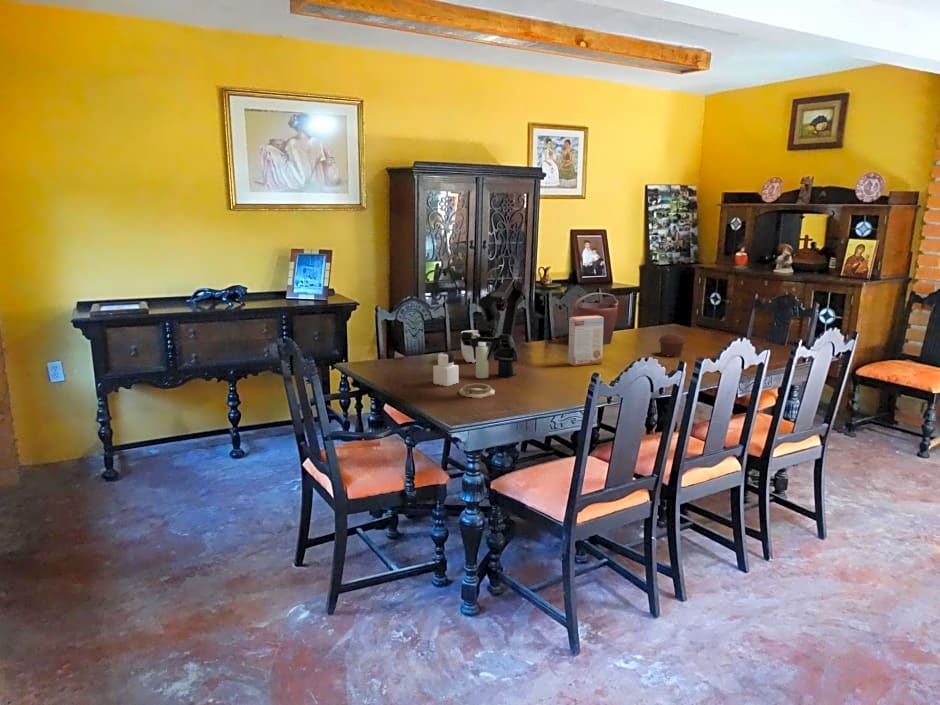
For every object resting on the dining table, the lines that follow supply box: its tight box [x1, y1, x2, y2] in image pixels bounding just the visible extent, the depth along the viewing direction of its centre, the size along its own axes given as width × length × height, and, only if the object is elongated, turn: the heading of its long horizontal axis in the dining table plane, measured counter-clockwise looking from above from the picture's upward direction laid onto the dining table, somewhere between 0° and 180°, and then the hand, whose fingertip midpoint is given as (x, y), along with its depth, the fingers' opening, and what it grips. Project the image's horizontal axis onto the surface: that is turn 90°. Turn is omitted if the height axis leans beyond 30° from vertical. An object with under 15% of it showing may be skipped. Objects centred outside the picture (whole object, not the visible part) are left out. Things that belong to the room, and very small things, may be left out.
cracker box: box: [567, 315, 604, 367], centre depth 296 cm, size 14×6×21 cm, turn 109°
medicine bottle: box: [432, 351, 460, 387], centre depth 264 cm, size 7×7×12 cm
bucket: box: [572, 292, 619, 346], centre depth 343 cm, size 24×22×25 cm
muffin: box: [658, 332, 686, 357], centre depth 316 cm, size 12×11×10 cm
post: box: [475, 345, 489, 379], centre depth 248 cm, size 5×5×11 cm
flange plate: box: [458, 382, 496, 399], centre depth 251 cm, size 13×13×4 cm
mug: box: [460, 329, 489, 364], centre depth 302 cm, size 15×11×13 cm
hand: (481, 359), depth 247 cm, fingers closed on post, 5 cm apart
